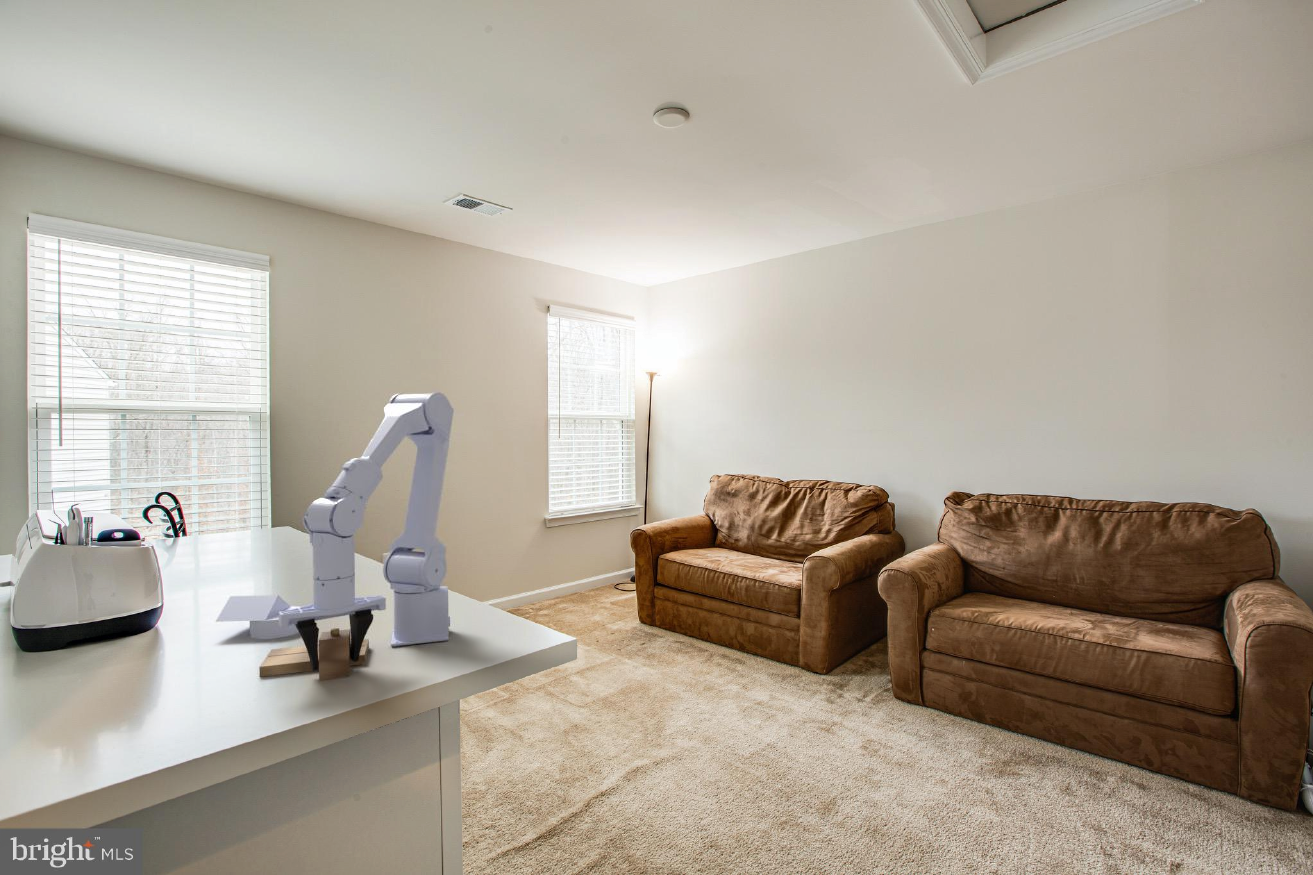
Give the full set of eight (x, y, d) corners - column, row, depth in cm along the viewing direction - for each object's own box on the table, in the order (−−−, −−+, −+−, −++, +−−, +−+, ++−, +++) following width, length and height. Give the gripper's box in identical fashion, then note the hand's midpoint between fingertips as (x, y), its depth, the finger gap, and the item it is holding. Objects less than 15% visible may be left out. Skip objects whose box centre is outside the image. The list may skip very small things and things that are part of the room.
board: (368, 647, 107) (368, 638, 107) (364, 663, 100) (364, 654, 100) (271, 658, 102) (271, 649, 102) (259, 676, 94) (259, 666, 94)
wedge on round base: (215, 640, 111) (291, 638, 112) (215, 602, 111) (290, 601, 112) (245, 624, 120) (314, 622, 121) (244, 589, 120) (314, 588, 121)
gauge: (352, 656, 103) (352, 615, 103) (348, 676, 95) (348, 631, 95) (325, 659, 101) (325, 618, 101) (319, 680, 93) (318, 635, 93)
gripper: (376, 564, 103) (377, 646, 103) (275, 578, 94) (276, 667, 94) (389, 572, 98) (390, 658, 98) (283, 587, 89) (283, 682, 89)
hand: (334, 664), depth 96 cm, fingers closed on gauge, 5 cm apart
